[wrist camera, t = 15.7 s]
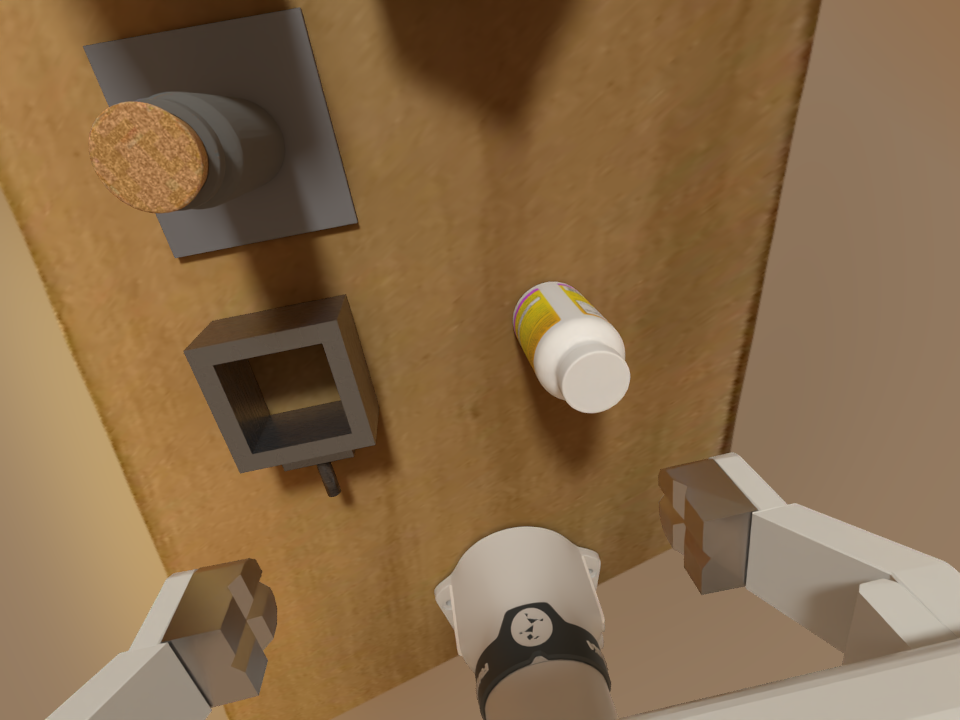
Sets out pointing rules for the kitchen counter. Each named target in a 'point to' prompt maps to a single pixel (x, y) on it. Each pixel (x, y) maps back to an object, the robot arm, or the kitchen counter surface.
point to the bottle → (184, 150)
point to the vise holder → (295, 432)
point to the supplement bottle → (571, 347)
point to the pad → (254, 77)
